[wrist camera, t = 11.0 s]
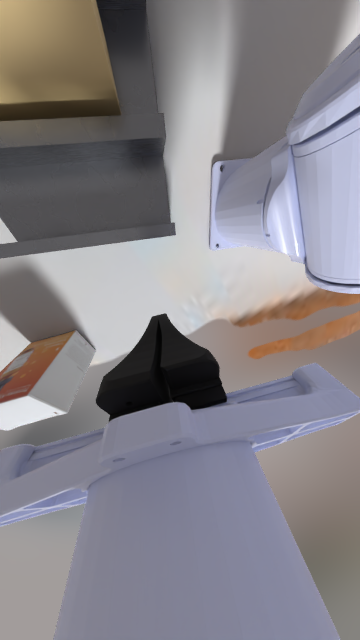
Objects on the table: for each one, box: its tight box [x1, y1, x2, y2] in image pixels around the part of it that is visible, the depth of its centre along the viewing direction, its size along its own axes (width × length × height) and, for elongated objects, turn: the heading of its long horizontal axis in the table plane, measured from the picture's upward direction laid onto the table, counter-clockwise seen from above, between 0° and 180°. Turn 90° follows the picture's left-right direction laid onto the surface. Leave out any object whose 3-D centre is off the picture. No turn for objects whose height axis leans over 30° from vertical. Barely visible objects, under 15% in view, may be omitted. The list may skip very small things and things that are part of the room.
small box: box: [0, 330, 96, 431], centre depth 19 cm, size 8×6×10 cm
